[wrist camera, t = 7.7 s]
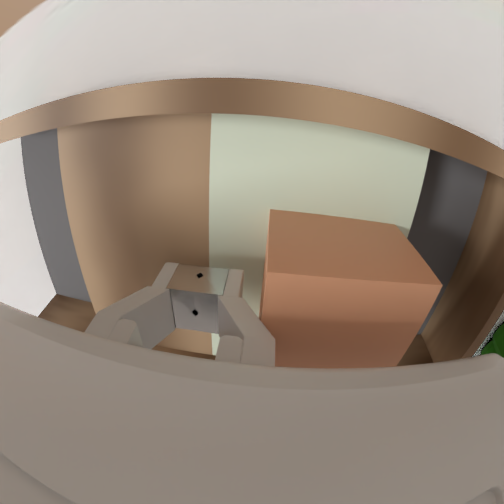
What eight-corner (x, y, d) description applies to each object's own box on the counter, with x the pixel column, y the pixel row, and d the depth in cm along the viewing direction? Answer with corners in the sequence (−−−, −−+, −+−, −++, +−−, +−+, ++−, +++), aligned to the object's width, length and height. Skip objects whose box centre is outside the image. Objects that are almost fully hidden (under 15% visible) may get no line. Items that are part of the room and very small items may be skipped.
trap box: (494, 154, 10) (553, 183, 6) (422, 337, 17) (444, 389, 13) (26, 118, 11) (-34, 137, 6) (64, 299, 18) (32, 341, 13)
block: (395, 224, 10) (442, 285, 6) (361, 318, 12) (381, 387, 9) (269, 209, 10) (267, 271, 6) (259, 312, 12) (252, 386, 9)
